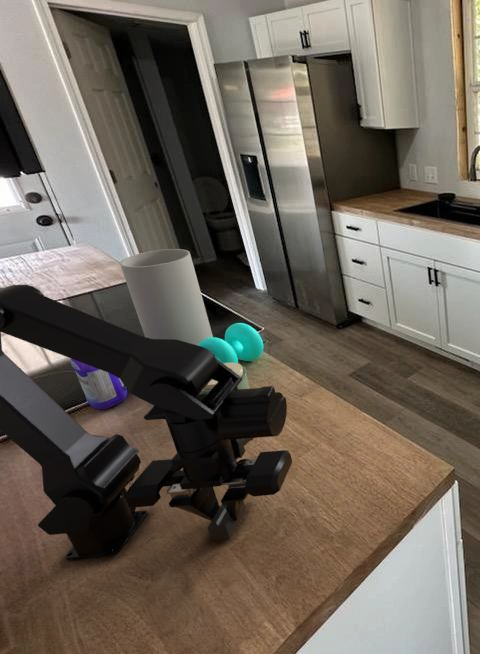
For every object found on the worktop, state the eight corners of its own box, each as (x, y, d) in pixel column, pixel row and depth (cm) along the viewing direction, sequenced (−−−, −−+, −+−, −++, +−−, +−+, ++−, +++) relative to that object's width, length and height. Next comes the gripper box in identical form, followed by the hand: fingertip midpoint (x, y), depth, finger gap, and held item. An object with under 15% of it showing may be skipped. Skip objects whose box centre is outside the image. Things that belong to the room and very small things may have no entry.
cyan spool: (269, 360, 101) (261, 324, 97) (233, 384, 92) (223, 345, 88) (237, 353, 103) (228, 317, 100) (199, 375, 94) (188, 337, 91)
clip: (229, 538, 59) (225, 524, 58) (211, 540, 59) (206, 526, 58) (245, 507, 64) (241, 493, 63) (229, 509, 63) (224, 495, 62)
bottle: (83, 403, 85) (51, 329, 78) (118, 388, 90) (90, 317, 83) (99, 415, 82) (67, 339, 75) (134, 398, 86) (107, 326, 80)
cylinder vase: (213, 355, 102) (187, 261, 93) (148, 370, 96) (113, 270, 87) (215, 333, 112) (191, 246, 103) (156, 345, 105) (126, 253, 96)
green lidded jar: (241, 418, 82) (232, 385, 79) (194, 421, 81) (183, 388, 78) (260, 390, 90) (253, 359, 87) (217, 393, 89) (208, 362, 86)
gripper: (296, 393, 64) (311, 469, 70) (164, 401, 61) (191, 479, 67) (266, 448, 54) (287, 531, 59) (106, 460, 51) (144, 546, 57)
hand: (228, 518), depth 61 cm, fingers closed on clip, 2 cm apart
